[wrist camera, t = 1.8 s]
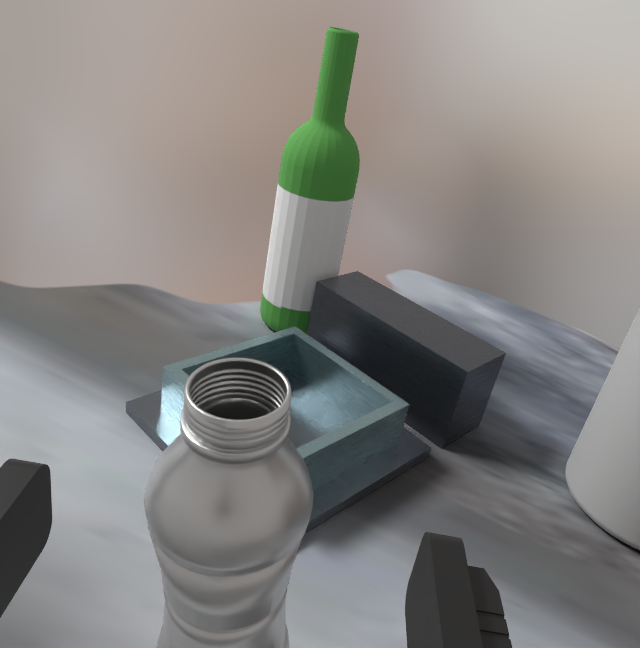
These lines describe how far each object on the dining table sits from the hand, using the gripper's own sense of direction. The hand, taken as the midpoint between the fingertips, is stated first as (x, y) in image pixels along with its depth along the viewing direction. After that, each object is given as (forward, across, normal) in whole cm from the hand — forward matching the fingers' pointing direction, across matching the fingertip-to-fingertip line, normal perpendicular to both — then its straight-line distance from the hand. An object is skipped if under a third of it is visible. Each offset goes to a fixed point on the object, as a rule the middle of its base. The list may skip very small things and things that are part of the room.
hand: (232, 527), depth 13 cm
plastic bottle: (+11, +1, +22) cm, 24 cm away
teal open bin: (+35, -2, +21) cm, 41 cm away
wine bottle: (+52, +2, +21) cm, 56 cm away
